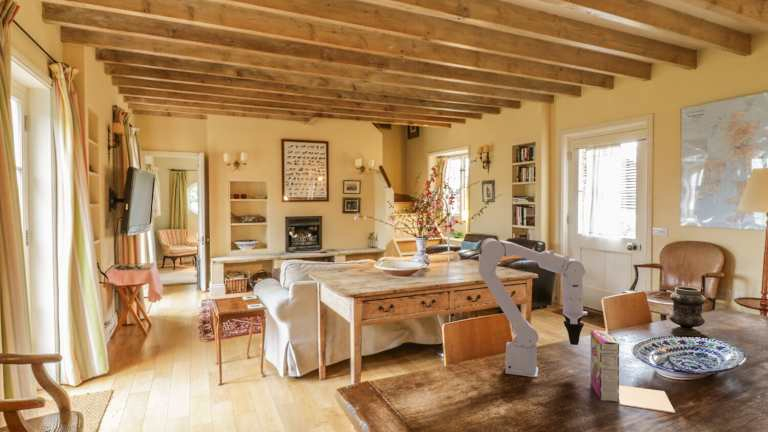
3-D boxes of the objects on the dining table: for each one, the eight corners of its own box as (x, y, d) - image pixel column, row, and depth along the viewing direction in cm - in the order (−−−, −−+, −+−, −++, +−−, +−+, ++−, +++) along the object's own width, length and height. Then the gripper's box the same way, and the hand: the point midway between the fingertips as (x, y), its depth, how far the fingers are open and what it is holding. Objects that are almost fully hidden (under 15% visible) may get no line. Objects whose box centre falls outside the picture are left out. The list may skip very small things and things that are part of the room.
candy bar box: (589, 384, 132) (589, 329, 131) (607, 385, 131) (608, 330, 130) (599, 401, 121) (600, 341, 120) (619, 402, 120) (620, 342, 119)
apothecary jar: (712, 336, 174) (713, 291, 173) (681, 337, 174) (682, 291, 173) (691, 327, 186) (692, 285, 185) (662, 327, 186) (663, 285, 185)
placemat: (620, 405, 118) (620, 404, 118) (614, 385, 130) (614, 384, 130) (675, 413, 114) (675, 412, 114) (664, 392, 126) (664, 391, 126)
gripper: (588, 303, 130) (589, 349, 131) (585, 293, 144) (586, 334, 144) (562, 302, 133) (563, 347, 133) (562, 292, 146) (563, 332, 147)
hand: (573, 340), depth 139 cm, fingers open, 7 cm apart
